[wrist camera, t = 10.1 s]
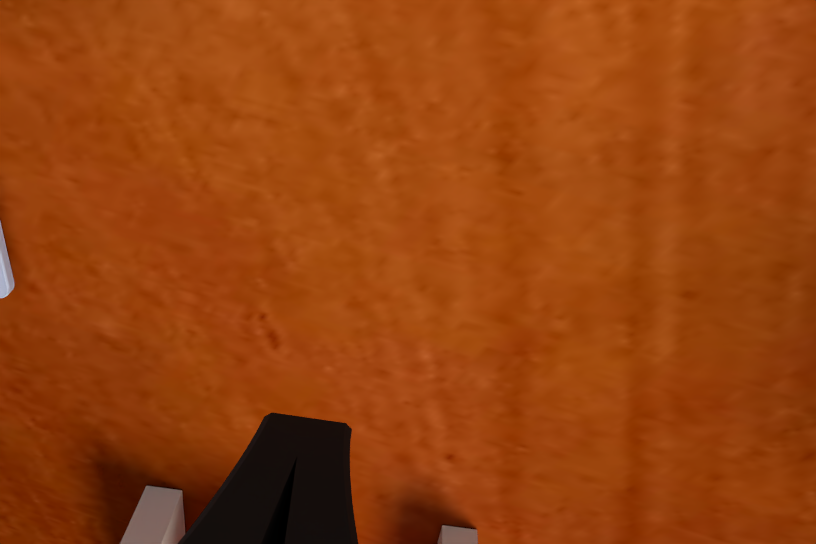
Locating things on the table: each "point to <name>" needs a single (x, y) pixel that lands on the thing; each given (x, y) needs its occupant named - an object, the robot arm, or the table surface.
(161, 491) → the holder
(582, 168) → the table surface
